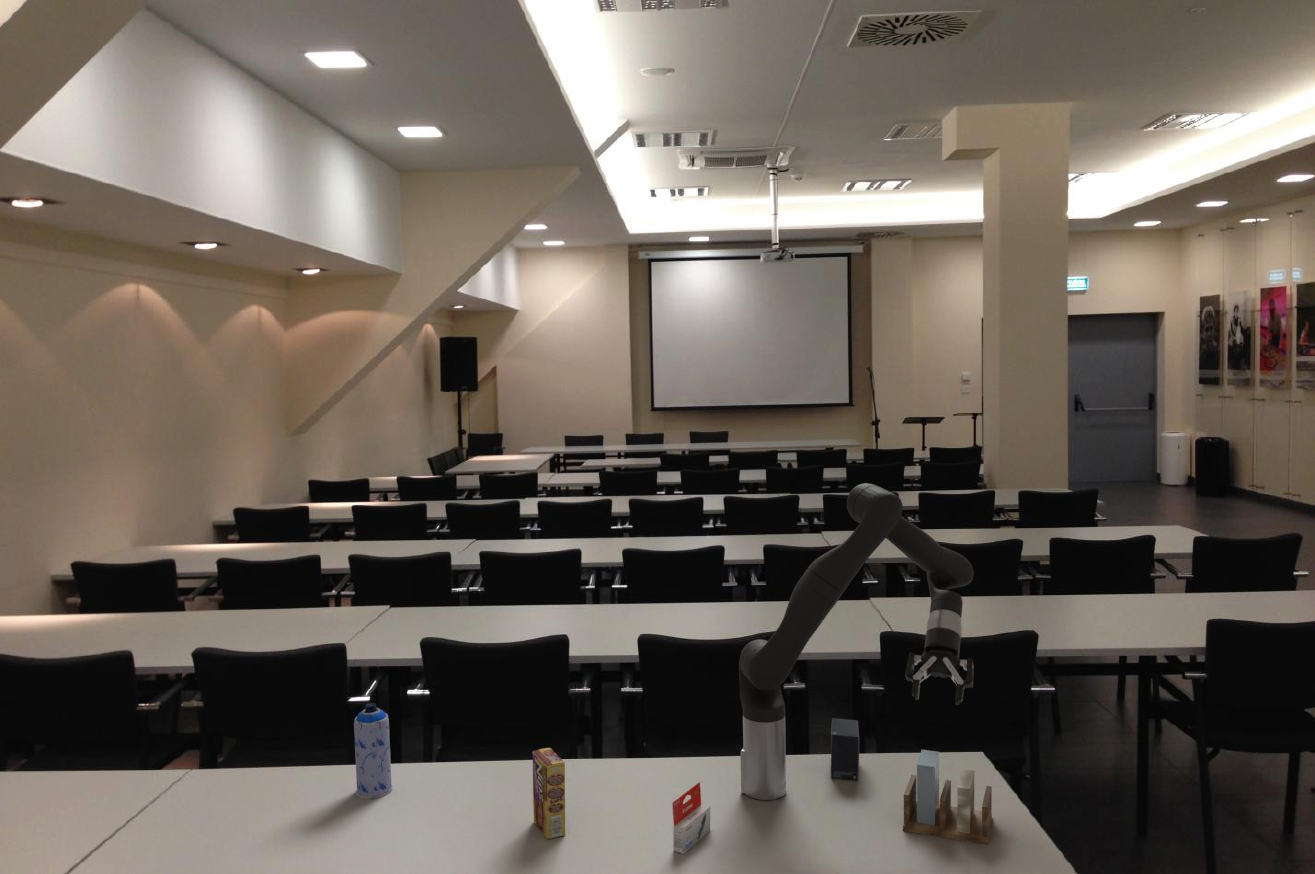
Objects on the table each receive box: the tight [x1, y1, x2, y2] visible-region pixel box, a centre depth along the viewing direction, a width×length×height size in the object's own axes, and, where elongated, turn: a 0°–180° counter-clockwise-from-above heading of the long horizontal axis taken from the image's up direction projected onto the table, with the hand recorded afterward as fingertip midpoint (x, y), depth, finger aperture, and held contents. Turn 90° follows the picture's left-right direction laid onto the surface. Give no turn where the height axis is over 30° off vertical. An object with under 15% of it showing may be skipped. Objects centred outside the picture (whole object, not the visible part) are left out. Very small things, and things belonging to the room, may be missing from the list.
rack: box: [902, 768, 993, 846], centre depth 193 cm, size 16×12×10 cm
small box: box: [830, 717, 860, 781], centre depth 220 cm, size 11×6×10 cm, turn 169°
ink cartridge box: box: [671, 781, 711, 854], centre depth 189 cm, size 2×11×10 cm, turn 148°
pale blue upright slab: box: [916, 749, 940, 825], centre depth 195 cm, size 4×8×12 cm, turn 158°
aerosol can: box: [353, 702, 393, 800], centre depth 214 cm, size 8×8×20 cm
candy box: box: [532, 747, 566, 840], centre depth 195 cm, size 9×4×15 cm, turn 26°
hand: (936, 700), depth 206 cm, fingers open, 8 cm apart
